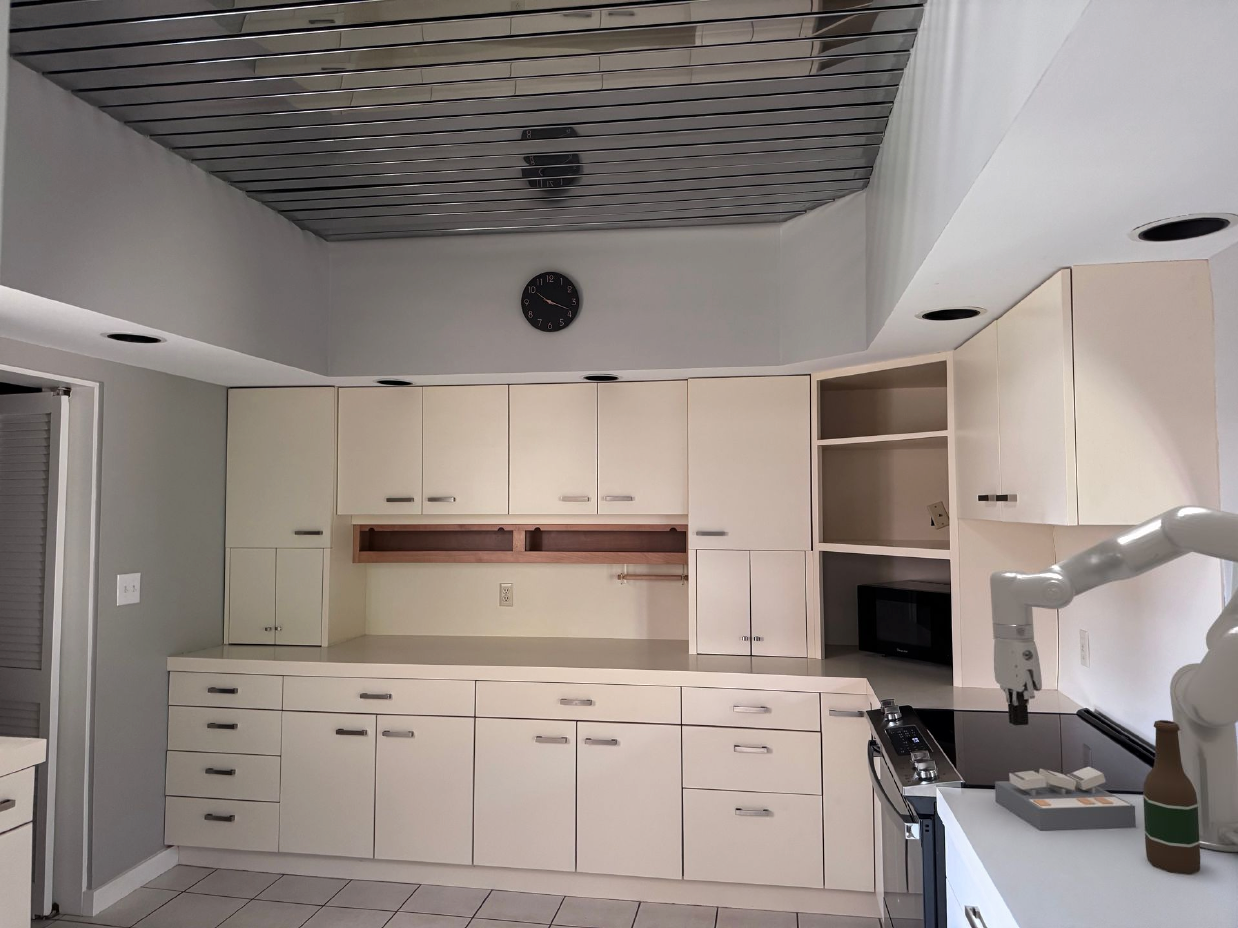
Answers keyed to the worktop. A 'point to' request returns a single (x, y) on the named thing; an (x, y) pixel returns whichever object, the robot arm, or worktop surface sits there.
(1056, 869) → the worktop surface
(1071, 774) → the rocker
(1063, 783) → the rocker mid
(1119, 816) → the switch unit
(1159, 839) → the beer bottle
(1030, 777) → the rocker
